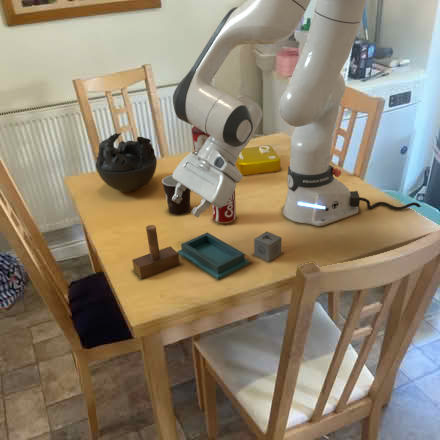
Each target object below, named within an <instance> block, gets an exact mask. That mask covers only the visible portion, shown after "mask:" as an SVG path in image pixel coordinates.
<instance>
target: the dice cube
mask: <svg viewBox="0 0 440 440" xmlns="http://www.w3.org/2000/svg"><path fill="white" fill-rule="evenodd" d="M282 240H283V239H282V236H279V235H277V234H274V233H272V232H270V231H265V232H263V233H261V234H260V235H258V236H256V237H255V238H254V239H253V246H254V247H253V250H254V252H253V254H254V256H255V257H257V258H260V259H262V260H264V261H266V262H272V261H273V260H274V259H275V258H277V257H279V256H280V255H282Z"/></svg>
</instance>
